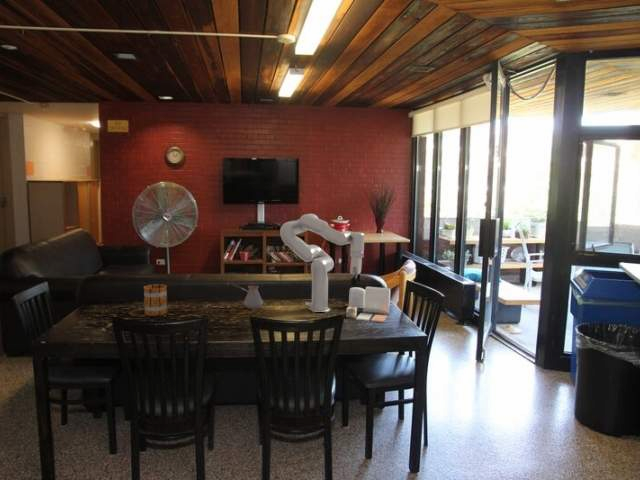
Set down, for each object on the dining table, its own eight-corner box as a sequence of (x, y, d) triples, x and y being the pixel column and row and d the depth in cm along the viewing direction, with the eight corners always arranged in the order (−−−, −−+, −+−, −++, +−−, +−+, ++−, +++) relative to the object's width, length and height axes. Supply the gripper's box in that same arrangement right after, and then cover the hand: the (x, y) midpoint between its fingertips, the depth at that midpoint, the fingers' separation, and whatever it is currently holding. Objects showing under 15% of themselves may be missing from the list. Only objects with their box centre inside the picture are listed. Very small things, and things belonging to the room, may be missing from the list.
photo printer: (365, 307, 303) (366, 287, 302) (363, 309, 299) (364, 289, 298) (350, 305, 307) (350, 286, 306) (347, 307, 303) (348, 287, 302)
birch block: (346, 317, 281) (346, 308, 281) (348, 314, 286) (348, 306, 286) (354, 318, 280) (355, 309, 279) (356, 315, 285) (357, 307, 284)
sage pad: (355, 319, 276) (355, 318, 276) (360, 314, 287) (360, 312, 287) (368, 320, 274) (368, 319, 274) (372, 315, 285) (372, 314, 285)
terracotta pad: (370, 321, 273) (370, 319, 273) (375, 315, 285) (375, 314, 285) (383, 322, 271) (383, 321, 271) (387, 317, 283) (387, 315, 283)
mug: (162, 316, 275) (161, 289, 273) (139, 314, 276) (138, 288, 274) (176, 307, 294) (176, 282, 292) (154, 306, 296) (154, 281, 294)
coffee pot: (264, 305, 303) (264, 281, 301) (260, 310, 292) (261, 285, 290) (229, 304, 304) (229, 280, 302) (225, 308, 293) (225, 284, 291)
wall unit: (362, 312, 291) (363, 288, 289) (365, 309, 299) (366, 285, 297) (389, 315, 286) (390, 290, 285) (391, 312, 294) (392, 288, 292)
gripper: (353, 251, 290) (352, 280, 292) (347, 255, 274) (346, 285, 276) (366, 252, 288) (364, 281, 290) (360, 256, 272) (359, 287, 274)
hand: (355, 283), depth 283 cm, fingers open, 9 cm apart
